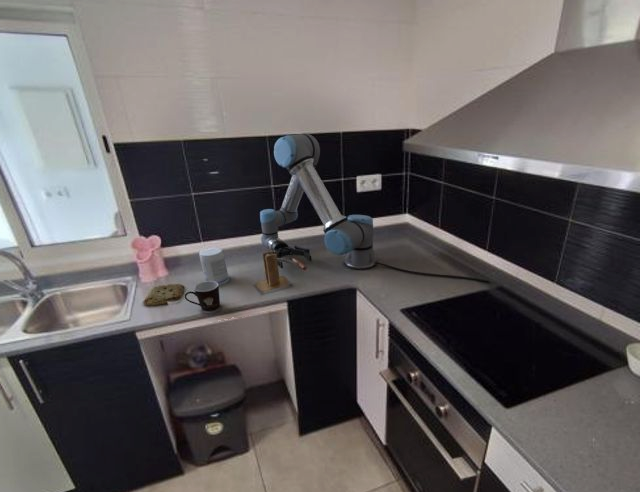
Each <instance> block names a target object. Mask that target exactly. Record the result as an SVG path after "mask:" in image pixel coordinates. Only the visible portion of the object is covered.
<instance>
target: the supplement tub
mask: <svg viewBox="0 0 640 492" xmlns="http://www.w3.org/2000/svg"><path fill="white" fill-rule="evenodd" d="M198 255H199V260H200V264H201V267H202V272H203V275H204V280H205V282H206V281H215V282H217V283H218V284H219V285H220V286H221V285H223V284H226V283H227V282H229V280H230V277H229V273H228V268H227V263H226V259H225V254H224V251H223V248H221V247H208V248H205V249H201V250H200V251H199V254H198Z"/></svg>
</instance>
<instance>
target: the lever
mask: <svg viewBox="0 0 640 492" xmlns="http://www.w3.org/2000/svg"><path fill="white" fill-rule="evenodd" d="M267 255H272V254H266V256H267ZM265 259H266V257H265ZM291 259H292V260H290V259H285V258H282V257H281V258H277V261H281V262H282V263H286V264H291V265H294V266H295V265H296V266H297V267H299V268H300V269H301V270H303V271H306V270H307V266H306V265H305V264H304V263H302V262H301V261H299V260H298V259H297V258H296V257H293V258H291Z"/></svg>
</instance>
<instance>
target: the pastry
mask: <svg viewBox="0 0 640 492" xmlns="http://www.w3.org/2000/svg"><path fill="white" fill-rule="evenodd" d="M184 287H185V285H183V284H180V283H170V284H162V285H157V286H154V287H152V288H151V289H150V291H149V292H148V295H147V296H146V297H145V299H144V300H143V303H142V304H143V305H144V306H149V307H150V306H160V305H165V304H167V305H168V302H177V301H179V300H180V299H181V298H182V295H184Z"/></svg>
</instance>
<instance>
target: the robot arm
mask: <svg viewBox="0 0 640 492" xmlns="http://www.w3.org/2000/svg"><path fill="white" fill-rule="evenodd" d="M273 149H274V150H273V155H274V159H275V161H276V163H277V164H278V166H280V167H282V168H284V169H287V171H288V173H289V175H291V179H290V181H289V184H288V187H287V189H286V192H285V196H284V198H283V201H282V204H281V206H280V208H279V210H275V209H273V208H267V209H263V210H261V211H260V212H259V219H260V221H259V222H260V224H261V233H262V234H261V236H260V241H261V243H262V245H263V246H264V247H265V248H266V249H268V251H273V254H277V258H281V259H282V258H283V257H287V256H301V257H303V258H304V259H305V260H307V261H309V262H312V255H311V251H310V250H311V249H310V248H306V247H301V246H297V245H293V247H290V246H289V245H288V244H287V243H286V242H285V241H284V240H283V239H281V238H280V237H279V229H278V228H279V227H282V226H285V225H287V224H289V223H292V222H294V221H296V220H297V219H298V218H299V212H298V207H299V204H300V203H301V199H302V197H303V195H304V193H305V195H306V197H307V199H308V200H309V202H310V204H311V206H312V207H313V208H314V211H315V212H316V214H317V215H318V217H319V219H320V221H321V223H322V224H323V229H322V230H323V233H324V238H323V239H324V240H323V241H324V245H325V247H326V248H327V250H328V251H329V252H330V253H332V254H334V255H337V256H343V255H345V257H344V265H345V266H346V267H347V268H349V269H352V270H368V269H372V268H374V267H375V266H376V265H380V266H383V267H386V268H389V269H393V270H397V271H401V272H405V273H409V274H415V275H416V274H417V275H424V276H432V277H443V278H444V277H445V278H455V279H465V280H473V281H477V282H485V283H490V280H488V279H482V278H477V277H472V276H471V277H470V276H461V275H452V274H439V273H431V272H430V273H429V272H421V271H413V270H409V269H405V268H404V269H403V268H399V267H396V266H393V265H389V264H386V263H382V262H378V261H377V257H376V253H375V251H374V219H373V217H371V216H369V215H364V214H350V215H348V216H346V215H342V214H341V211H339V208H338V206H337V204H336V203H335V202H334V200H333V198H332V196H331V195H330V192H329V191H328V189H327V188H326V186H325V184H324V182H323V180H322V179H321V177H320V175H319V173H318V172H317V170H316V168H317V165H318V163H319V158H320V155H321V147H320V143H319V141H318V140H317V139H316V138H315V136H313V135H311V134H309V133H300V134H291V135H285V136H281V137H280V138H278V139H277V140H276V142H275V143H274V147H273ZM277 262H278V268H280V269H284V262H281V261H277Z"/></svg>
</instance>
